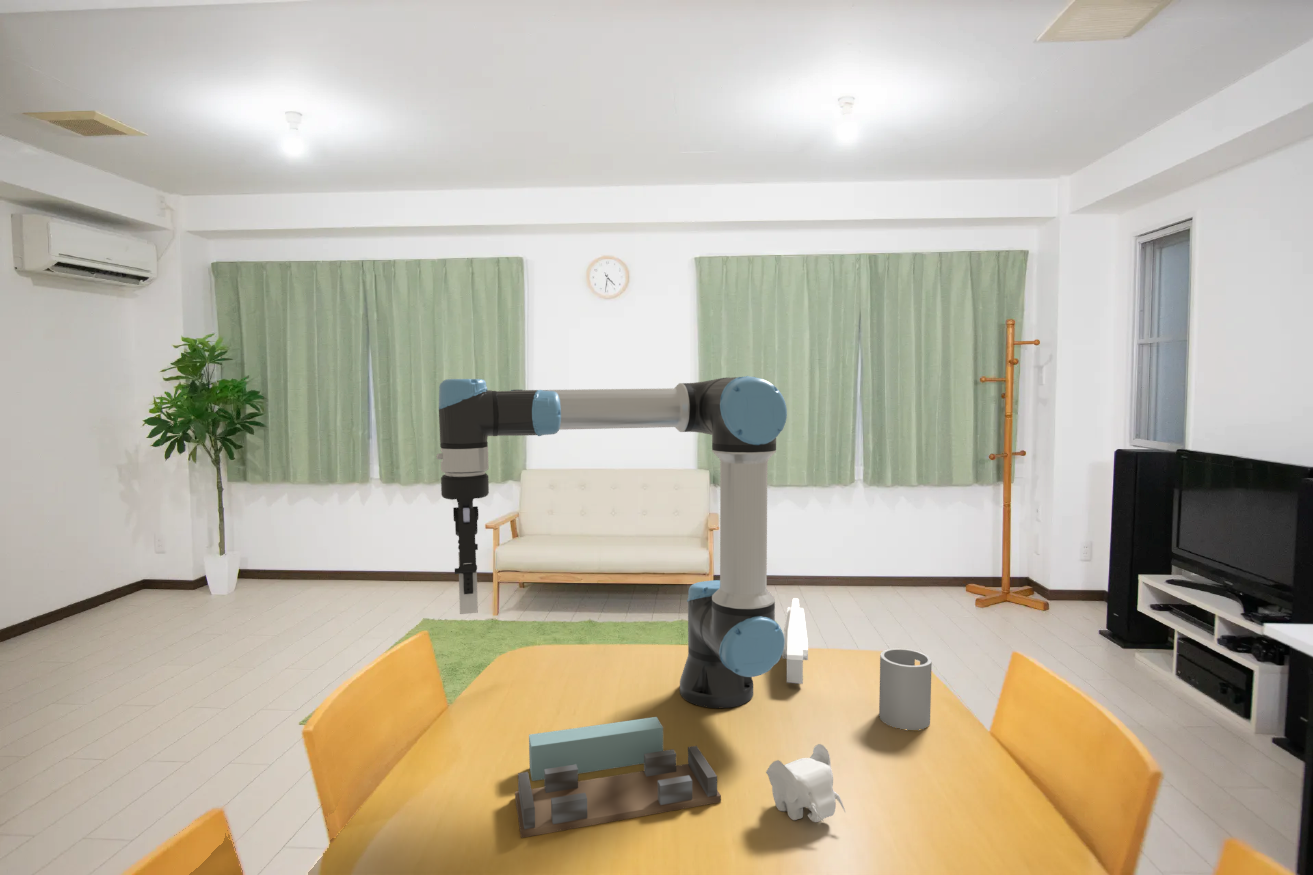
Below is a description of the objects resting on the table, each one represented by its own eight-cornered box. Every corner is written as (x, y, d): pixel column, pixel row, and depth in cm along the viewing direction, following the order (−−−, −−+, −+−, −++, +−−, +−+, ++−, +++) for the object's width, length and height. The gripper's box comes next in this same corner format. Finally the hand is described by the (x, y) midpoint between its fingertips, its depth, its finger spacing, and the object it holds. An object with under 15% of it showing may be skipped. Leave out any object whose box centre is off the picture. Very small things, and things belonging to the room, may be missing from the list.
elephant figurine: (810, 846, 96) (811, 784, 96) (753, 802, 107) (754, 746, 106) (858, 823, 102) (859, 764, 101) (800, 783, 112) (800, 729, 111)
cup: (877, 725, 130) (878, 662, 130) (881, 704, 139) (882, 645, 138) (929, 734, 127) (931, 669, 126) (930, 712, 135) (932, 651, 135)
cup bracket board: (698, 767, 116) (698, 744, 116) (720, 801, 107) (720, 776, 107) (515, 797, 108) (514, 772, 108) (521, 837, 99) (520, 810, 98)
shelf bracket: (806, 645, 171) (807, 598, 168) (807, 710, 148) (808, 658, 144) (784, 643, 172) (784, 597, 169) (781, 708, 149) (781, 656, 145)
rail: (656, 749, 123) (656, 716, 122) (663, 761, 119) (663, 727, 118) (529, 769, 117) (528, 734, 116) (532, 782, 113) (531, 746, 112)
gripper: (442, 465, 126) (445, 581, 127) (439, 484, 102) (443, 626, 104) (485, 464, 128) (487, 578, 130) (492, 482, 104) (495, 621, 106)
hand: (468, 600), depth 117 cm, fingers open, 13 cm apart
